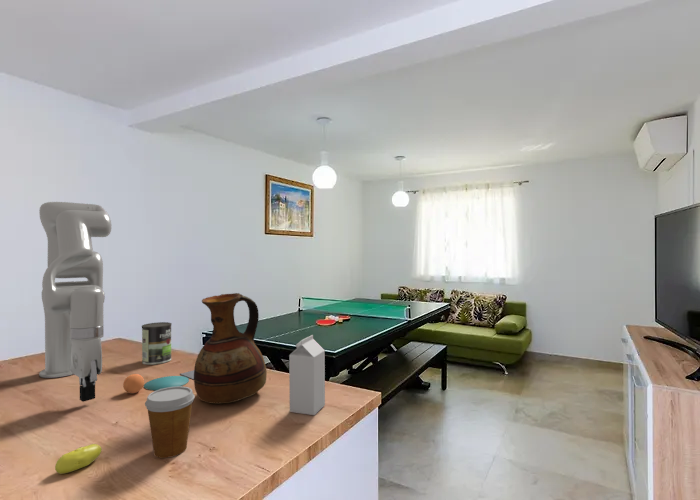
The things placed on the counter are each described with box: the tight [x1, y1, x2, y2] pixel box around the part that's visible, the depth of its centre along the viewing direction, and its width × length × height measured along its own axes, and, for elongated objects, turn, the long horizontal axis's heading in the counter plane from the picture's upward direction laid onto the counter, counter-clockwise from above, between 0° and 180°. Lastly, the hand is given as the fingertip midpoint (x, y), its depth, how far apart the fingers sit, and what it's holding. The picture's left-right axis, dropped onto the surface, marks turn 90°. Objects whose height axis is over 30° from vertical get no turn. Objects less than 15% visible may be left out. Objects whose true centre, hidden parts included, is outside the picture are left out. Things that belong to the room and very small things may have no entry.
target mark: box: [143, 375, 190, 391], centre depth 123 cm, size 13×13×1 cm
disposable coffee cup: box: [144, 386, 195, 459], centre depth 81 cm, size 10×10×12 cm
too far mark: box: [179, 369, 194, 381], centre depth 132 cm, size 10×10×1 cm
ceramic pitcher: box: [193, 292, 267, 404], centre depth 112 cm, size 20×20×30 cm
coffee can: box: [141, 321, 172, 366], centre depth 148 cm, size 10×10×14 cm
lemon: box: [54, 443, 102, 475], centre depth 75 cm, size 4×8×4 cm, turn 145°
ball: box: [122, 373, 145, 394], centre depth 115 cm, size 6×6×6 cm
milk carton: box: [288, 334, 326, 416], centre depth 102 cm, size 7×7×19 cm
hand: (87, 399), depth 106 cm, fingers closed
